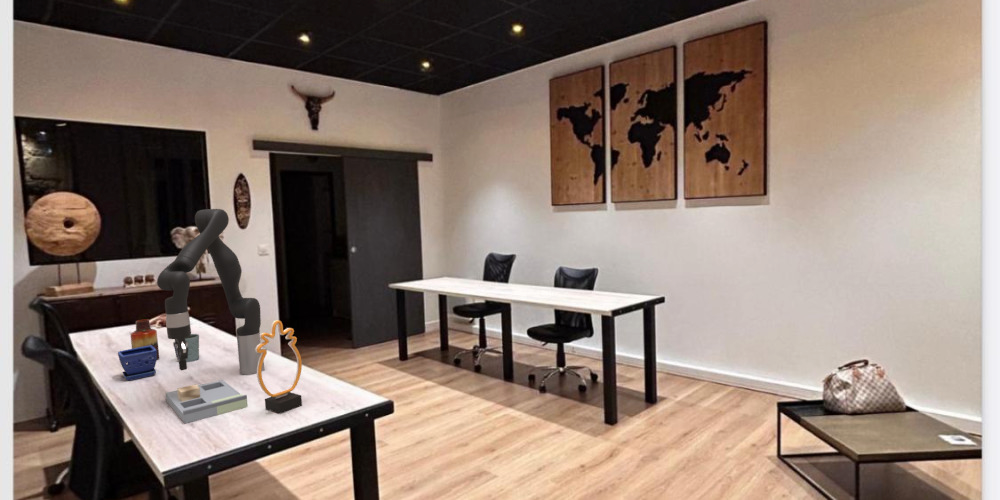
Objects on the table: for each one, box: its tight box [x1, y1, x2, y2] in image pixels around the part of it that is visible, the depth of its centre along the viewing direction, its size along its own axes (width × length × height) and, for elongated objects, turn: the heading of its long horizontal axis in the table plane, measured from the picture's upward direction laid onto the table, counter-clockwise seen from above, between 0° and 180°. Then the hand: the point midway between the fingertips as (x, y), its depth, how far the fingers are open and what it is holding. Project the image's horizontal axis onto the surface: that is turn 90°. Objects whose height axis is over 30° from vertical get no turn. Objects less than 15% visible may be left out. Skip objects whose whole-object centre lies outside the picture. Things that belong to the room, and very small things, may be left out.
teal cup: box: [185, 333, 200, 363], centre depth 256 cm, size 10×10×12 cm
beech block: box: [176, 384, 200, 402], centre depth 193 cm, size 6×6×4 cm
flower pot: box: [117, 345, 157, 381], centre depth 232 cm, size 13×13×12 cm
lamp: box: [255, 319, 303, 415], centre depth 186 cm, size 17×9×32 cm, turn 145°
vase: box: [130, 318, 160, 362], centre depth 258 cm, size 11×11×20 cm
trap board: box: [165, 379, 249, 424], centre depth 194 cm, size 20×32×4 cm, turn 42°
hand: (183, 369), depth 196 cm, fingers closed
